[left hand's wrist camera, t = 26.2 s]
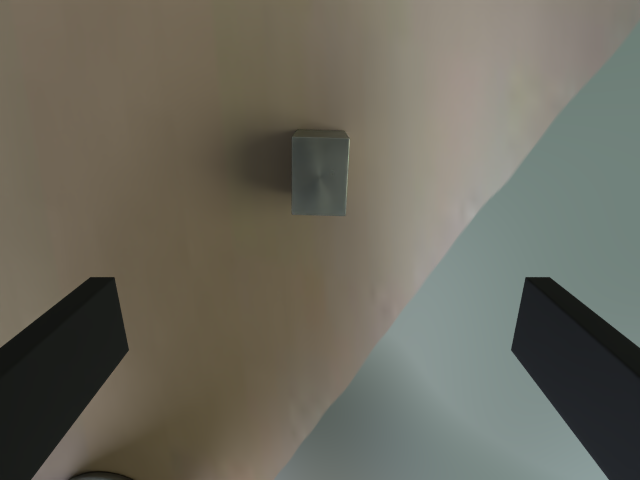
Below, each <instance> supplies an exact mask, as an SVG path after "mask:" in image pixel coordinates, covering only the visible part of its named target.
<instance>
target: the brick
mask: <svg viewBox="0 0 640 480" xmlns="http://www.w3.org/2000/svg"><path fill="white" fill-rule="evenodd" d="M349 145H350V138H349V137H348V135H347V134H346V132H345V131H339V130H304V129H297V130H296V132H295V133H294V135H293V136H292V215H324V216H346V202H347V183H348V164H349Z"/></svg>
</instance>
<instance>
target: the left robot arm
mask: <svg viewBox="0 0 640 480" xmlns="http://www.w3.org/2000/svg"><path fill="white" fill-rule="evenodd" d="M128 351H129V348H128V343H127V338H126V333H125V328H124V323H123V318H122V313H121V308H120V303H119V298H118V293H117V288H116V283H115V278H114V277H90V278H89V279H88V280H86V281H85V282H84V283H82V284H81V285H80V286H79V287H77V288H76V289H75V290H74V291H72V292H71V293H70V294H68V295H67V296H66V297H65V298H63V299H62V300H61V301H60V302H58V303H57V304H56V305H54V306H53V307H52V308H51V309H49V310H48V311H47V312H46V313H44V314H43V315H42V316H40V317H39V318H38V319H37V320H35V321H34V322H33V323H32V324H30V325H29V326H28V327H26V328H25V329H24V330H23V331H21V332H20V333H19V334H17V335H16V336H15V337H14V338H12V339H11V340H10V341H9V342H7V343H6V344H5V345H3V346H2V347H1V348H0V480H31V479H32V478H33V476H34V475H35V474H36V472H37V471H38V470H39V468H40V467H41V466H42V464H43V463H44V462H45V460H46V459H47V458H48V456H49V455H50V454H51V453H52V451H53V450H54V449H55V447H56V446H57V445H58V443H59V442H60V441H61V439H62V438H63V437H64V435H65V434H66V433H67V431H68V430H69V429H70V427H71V426H72V425H73V423H74V422H75V421H76V419H77V418H78V417H79V415H80V414H81V413H82V411H83V410H84V409H85V407H86V406H87V405H88V404H89V402H90V401H91V400H92V398H93V397H94V396H95V394H96V393H97V392H98V390H99V389H100V388H101V386H102V385H103V384H104V382H105V381H106V380H107V378H108V377H109V376H110V374H111V373H112V372H113V370H114V369H115V368H116V366H117V365H118V364H119V362H120V361H121V360H122V359H123V357H124V356H125V355H126V353H127V352H128ZM511 351H512V352H513V353H514V355H515V356H516V357H517V359H518V360H519V361H520V362H521V364H522V365H523V366H524V368H525V369H526V370H527V372H528V373H529V374H530V376H531V377H532V378H533V380H534V381H535V382H536V384H537V385H538V386H539V388H540V389H541V390H542V392H543V393H544V394H545V396H546V397H547V398H548V399H549V401H550V402H551V404H552V405H553V406H554V407H555V409H556V410H557V411H558V413H559V414H560V415H561V417H562V418H563V419H564V421H565V422H566V423H567V425H568V426H569V427H570V429H571V430H572V431H573V433H574V434H575V435H576V437H577V438H578V439H579V441H580V442H581V443H582V445H583V446H584V447H585V449H586V450H587V451H588V452H589V454H590V455H591V456H592V458H593V459H594V460H595V462H596V463H597V464H598V466H599V467H600V468H601V470H602V471H603V472H604V474H605V475H606V476H607V478H608V479H609V480H640V348H639V347H638V346H636V345H635V344H634V343H633V342H631V341H630V340H629V339H628V338H626V337H625V336H624V335H622V334H621V333H620V332H619V331H617V330H616V329H615V328H614V327H612V326H611V325H610V324H608V323H607V322H606V321H605V320H603V319H602V318H601V317H600V316H598V315H597V314H596V313H594V312H593V311H592V310H591V309H589V308H588V307H587V306H586V305H584V304H583V303H582V302H580V301H579V300H578V299H577V298H575V297H574V296H573V295H572V294H570V293H569V292H568V291H566V290H565V289H564V288H563V287H561V286H560V285H559V284H557V283H556V282H555V281H554V280H552V279H551V278H550V277H526V278H525V283H524V288H523V293H522V298H521V303H520V308H519V313H518V318H517V323H516V328H515V333H514V338H513V343H512V348H511ZM70 480H132V479H129V478H127V477H124V476H121V475H117V474H112V473H104V472H94V473H86V474H82V475H79V476H76V477H74V478H72V479H70Z"/></svg>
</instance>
